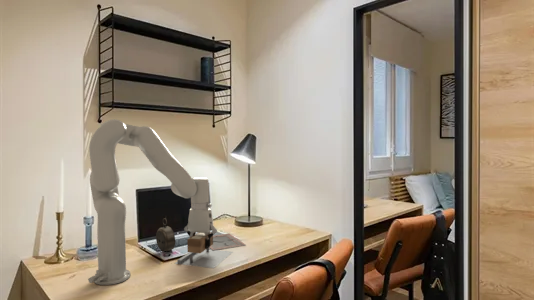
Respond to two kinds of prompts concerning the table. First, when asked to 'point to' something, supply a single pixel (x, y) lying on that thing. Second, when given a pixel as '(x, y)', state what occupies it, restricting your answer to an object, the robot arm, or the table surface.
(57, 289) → the table surface
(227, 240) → the picture frame
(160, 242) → the alarm clock
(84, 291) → the table surface
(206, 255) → the wall board
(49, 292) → the table surface
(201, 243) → the brown cardboard box
